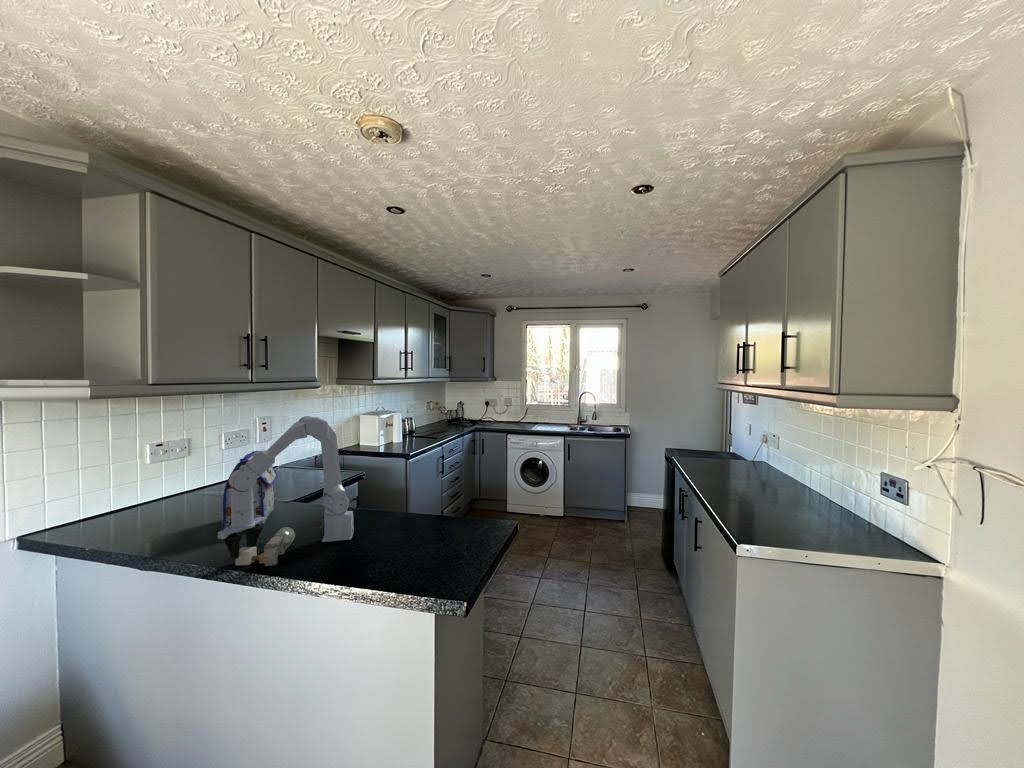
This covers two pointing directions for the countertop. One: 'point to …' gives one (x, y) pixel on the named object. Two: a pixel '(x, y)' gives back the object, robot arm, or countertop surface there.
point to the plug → (249, 556)
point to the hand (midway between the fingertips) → (243, 554)
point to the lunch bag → (261, 493)
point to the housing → (278, 545)
